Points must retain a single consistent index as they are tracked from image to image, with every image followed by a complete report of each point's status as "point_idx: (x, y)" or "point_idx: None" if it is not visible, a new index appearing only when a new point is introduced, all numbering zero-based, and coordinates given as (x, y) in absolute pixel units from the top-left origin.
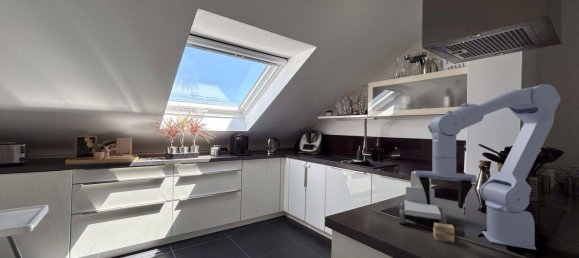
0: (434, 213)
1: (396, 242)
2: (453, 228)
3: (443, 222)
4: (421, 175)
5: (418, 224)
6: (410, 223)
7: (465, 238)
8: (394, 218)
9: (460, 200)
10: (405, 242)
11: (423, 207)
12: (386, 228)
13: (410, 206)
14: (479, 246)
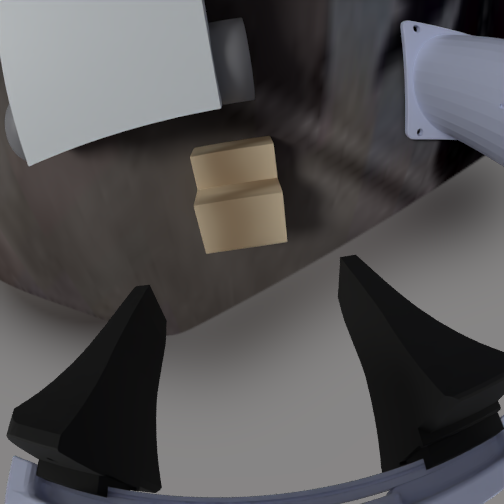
0: (179, 115)
1: None
2: (283, 240)
3: (236, 102)
4: (68, 499)
5: None
6: None
7: (325, 129)
8: None
9: (355, 347)
10: None
11: (97, 16)
12: (45, 222)
13: (29, 67)
14: (359, 191)
